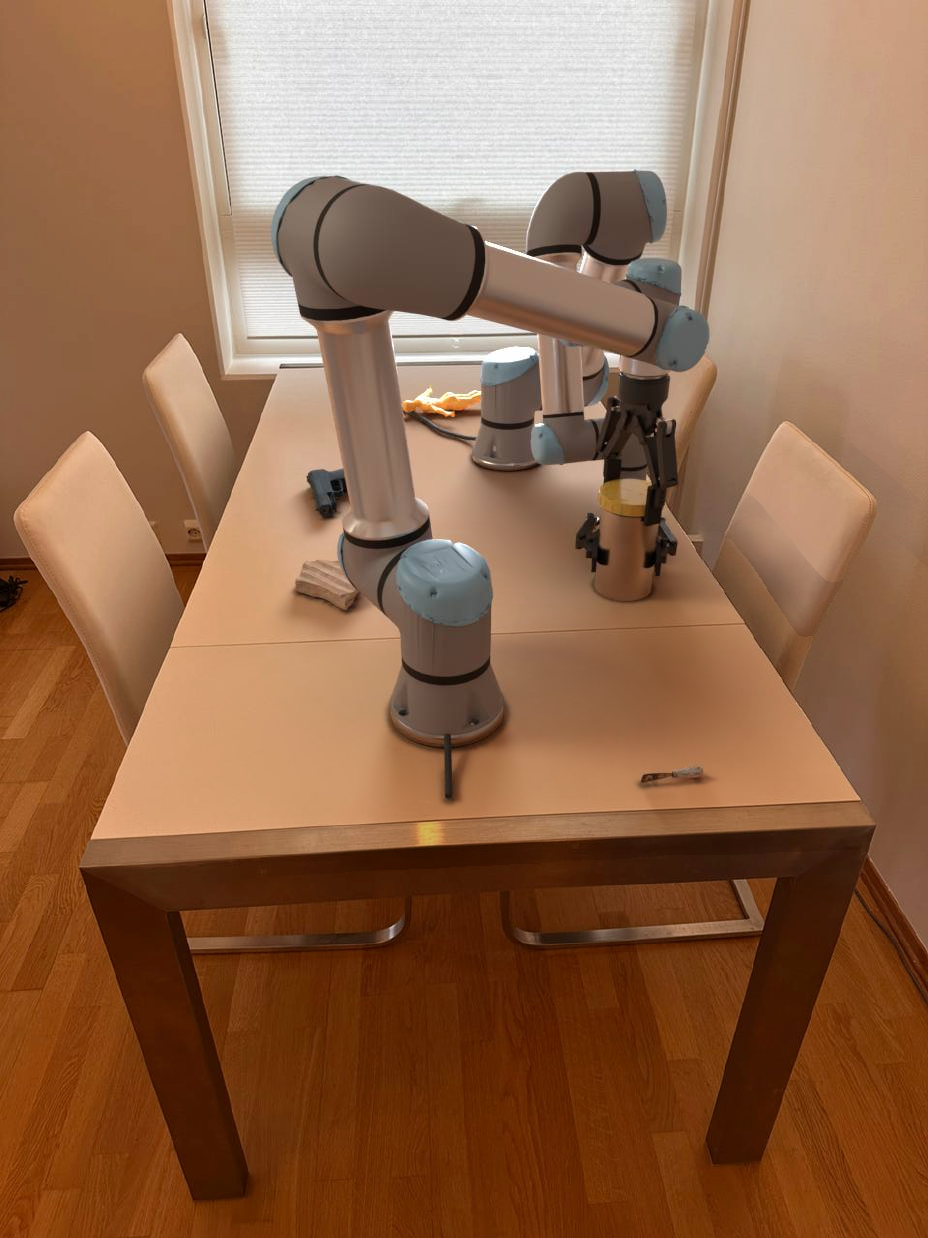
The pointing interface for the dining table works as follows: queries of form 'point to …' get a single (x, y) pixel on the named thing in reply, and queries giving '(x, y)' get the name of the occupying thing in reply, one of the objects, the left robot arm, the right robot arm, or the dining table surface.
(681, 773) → the putty knife
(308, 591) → the stone
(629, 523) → the jar
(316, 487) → the handgun
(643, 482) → the lid
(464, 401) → the human figure
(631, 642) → the dining table surface
